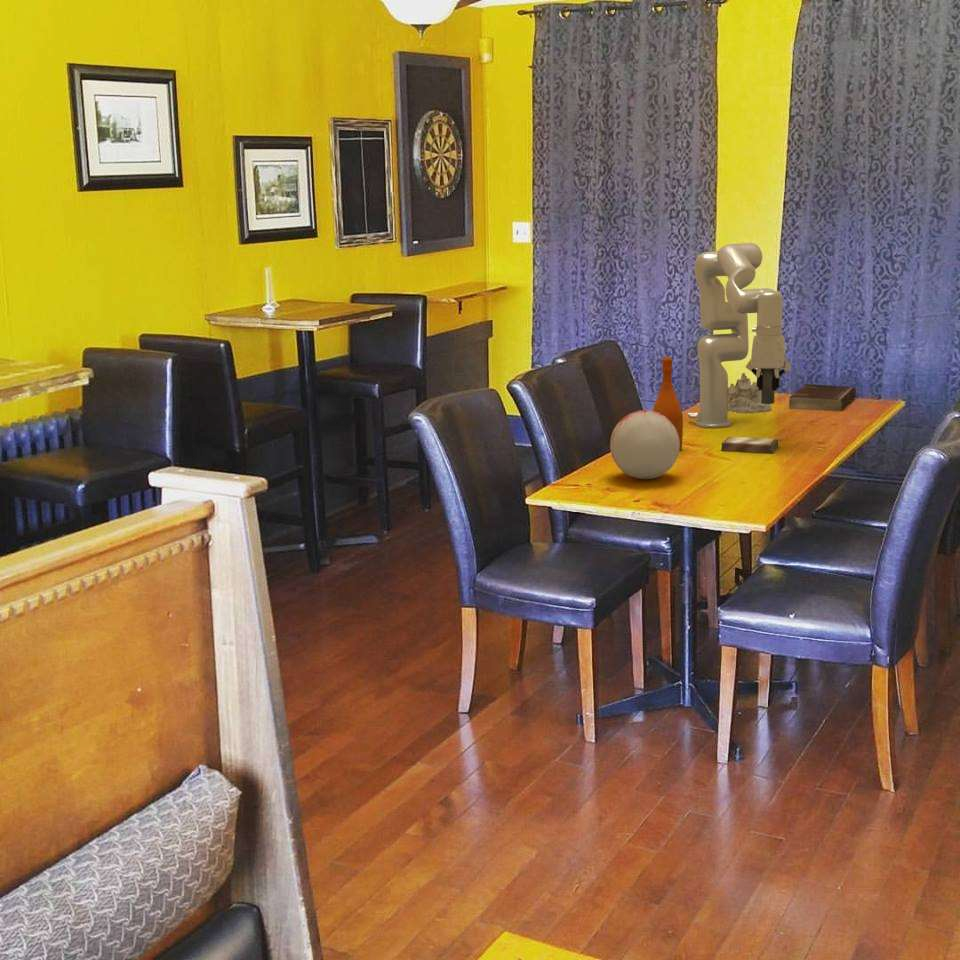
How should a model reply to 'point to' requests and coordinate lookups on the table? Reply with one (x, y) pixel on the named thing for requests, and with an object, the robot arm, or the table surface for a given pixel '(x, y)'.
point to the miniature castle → (745, 397)
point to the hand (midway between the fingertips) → (768, 389)
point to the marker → (767, 386)
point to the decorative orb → (644, 444)
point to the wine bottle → (669, 399)
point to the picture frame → (750, 445)
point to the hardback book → (822, 397)
